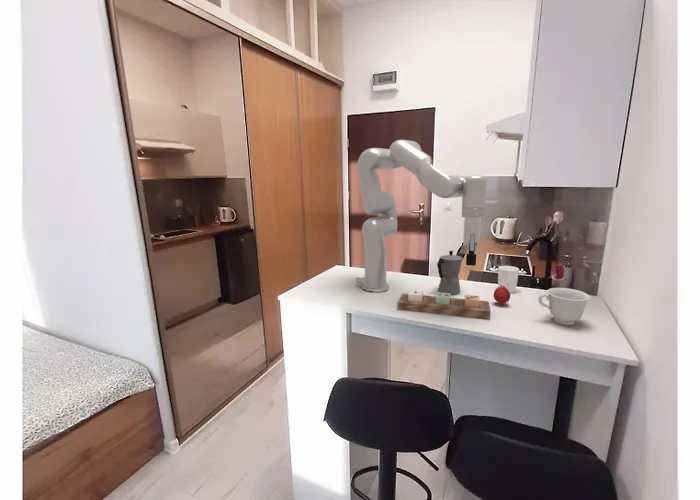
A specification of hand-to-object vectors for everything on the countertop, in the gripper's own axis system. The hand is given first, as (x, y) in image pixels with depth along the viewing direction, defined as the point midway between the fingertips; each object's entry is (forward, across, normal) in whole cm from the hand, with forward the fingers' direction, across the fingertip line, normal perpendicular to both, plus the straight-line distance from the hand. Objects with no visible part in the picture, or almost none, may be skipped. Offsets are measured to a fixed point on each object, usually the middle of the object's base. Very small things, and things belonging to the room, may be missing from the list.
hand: (470, 264), depth 116 cm
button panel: (+18, 0, -9) cm, 20 cm away
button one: (+15, 0, -19) cm, 24 cm away
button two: (+15, 0, -9) cm, 18 cm away
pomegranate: (+18, -11, +12) cm, 24 cm away
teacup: (+18, -1, +29) cm, 34 cm away
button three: (+15, 0, +1) cm, 15 cm away
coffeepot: (+18, -20, -8) cm, 28 cm away
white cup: (+18, -29, +16) cm, 38 cm away
